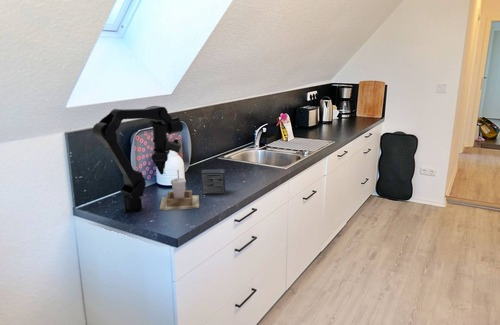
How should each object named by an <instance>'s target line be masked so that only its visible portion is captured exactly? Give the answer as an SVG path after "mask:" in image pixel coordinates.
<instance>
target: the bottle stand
mask: <svg viewBox="0 0 500 325" xmlns="http://www.w3.org/2000/svg"><path fill="white" fill-rule="evenodd" d="M199 197H200V196H199V195H198V194H197V195H196V194H195V195H193V190H185V195H184V198H174V193H173V191H168V192H167V196H162V197H161V202H160V206H159V211H172V210H173V211H175V210H191V209H193V210H194V209H200V198H199Z"/></svg>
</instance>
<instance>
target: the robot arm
mask: <svg viewBox="0 0 500 325" xmlns="http://www.w3.org/2000/svg"><path fill="white" fill-rule="evenodd" d="M133 119H134V120H137V119H138V120H139V119H149V120H150V121H149V123H148V124H147V127H151V128H152V137H153V138H152V143H153V153H152V155H151V161H152V162H153V163H154V165H155V166H156V169H157V170H158V173H159V174H160V175H164V170H165V168H166V162H167V161H168V160H169V159H168V158H169V154H170V151H172V152H175V153H177V154H179V153H180V150H181V148H182V147H181V146H182V144H181V143H180V141H179V139H173V140H169V137H168V135H172V134H178V133H179V134H180V133H181V132H183V130H184V129H183V128H184V125H183V122H182V121H181V120H180V117H179V116H173V117H172V116H171V115H170V113H168V110H167V108H166V106H160V105H159V106H158V105H151V106H147V107H145V108H128V109H126V108H123V109H119V108H114V109H112V110H111V111H110V112H109V113H108V114H107V115H105V116H104V117H103V118H101V119H100V120H99V121H98V122H96V123H95V124H94V125H93V128H92V130H91V131H92V133H93V135H94V137H95V138H96V139H97V140H98V141H99V142H100V143H101V144H102V145H103V146H105V147H106V149H107V151H108V152H109V154H110V155H111V157H112V159H113V160H114V162H115V164H116V165H117V167H118V169H119V170H120V172H121V174H122V179H123V183H124V184H123V185H122V186H121V188H120V190H119V191H120V194H121V195H123V200H124V201H123V203H124V210H123V211H124V213H135V212H142V211H141V210H142V209H143V207H144V204H143V203H144V202H143V196H144V192H145V188H146V185H147V183H146V181H147V179H146V178H144V175H143V173H142V172H141V171H138V170H136V169H134V168H133V166H132V165H131V163H130V161H129V159H128V158H127V156H126V154H125V152H124V150H123V149H122V147H121V145H120V144H119V142H118V135H117V131H118V129H119V128H120V126H121V124H122V122H123V120H133Z"/></svg>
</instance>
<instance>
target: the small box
mask: <svg viewBox="0 0 500 325" xmlns="http://www.w3.org/2000/svg"><path fill="white" fill-rule="evenodd" d="M225 174H226V173H225V169H224V168H219V169H217V168H216V169H202V170H201V172H200V175H201V191H202V192H201V195H202V196H206V195H209V196H210V195H225V194H226V178H225V176H226V175H225Z"/></svg>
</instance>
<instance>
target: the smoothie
mask: <svg viewBox="0 0 500 325" xmlns="http://www.w3.org/2000/svg"><path fill="white" fill-rule="evenodd" d="M176 172H177V178H173V179H171V180H170V184H171V186H172V192H173V193H174V198H184V195H185V191H186V183H187V180H186V179H185V178H181V177H180V170H179V169H177V170H176Z"/></svg>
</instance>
